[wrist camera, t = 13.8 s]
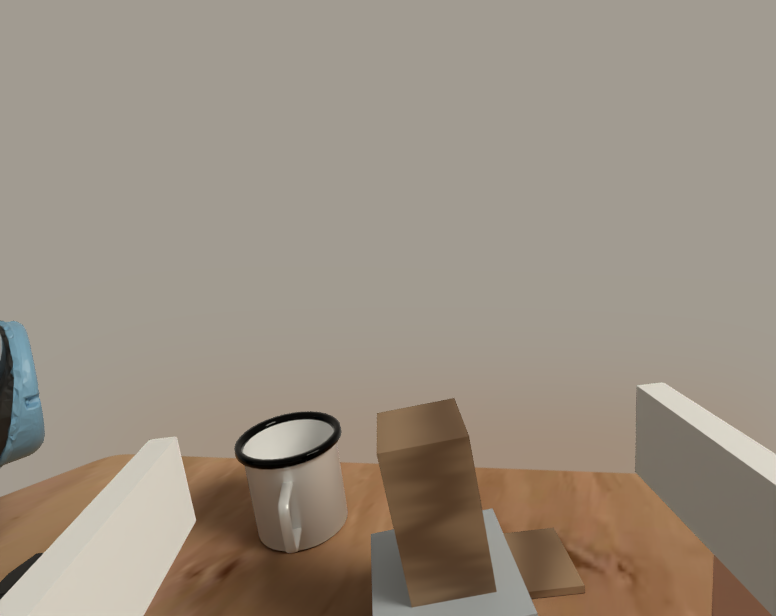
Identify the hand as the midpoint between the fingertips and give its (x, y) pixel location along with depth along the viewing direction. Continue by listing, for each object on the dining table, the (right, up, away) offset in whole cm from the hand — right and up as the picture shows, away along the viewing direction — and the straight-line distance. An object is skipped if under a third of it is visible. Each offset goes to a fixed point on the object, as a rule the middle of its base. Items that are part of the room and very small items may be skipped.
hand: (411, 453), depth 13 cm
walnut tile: (+10, -15, +22) cm, 29 cm away
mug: (-8, -16, +29) cm, 35 cm away
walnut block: (+3, -12, +16) cm, 20 cm away
